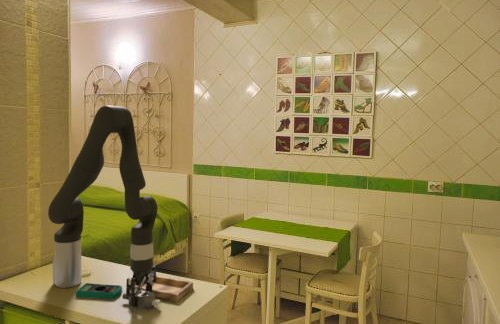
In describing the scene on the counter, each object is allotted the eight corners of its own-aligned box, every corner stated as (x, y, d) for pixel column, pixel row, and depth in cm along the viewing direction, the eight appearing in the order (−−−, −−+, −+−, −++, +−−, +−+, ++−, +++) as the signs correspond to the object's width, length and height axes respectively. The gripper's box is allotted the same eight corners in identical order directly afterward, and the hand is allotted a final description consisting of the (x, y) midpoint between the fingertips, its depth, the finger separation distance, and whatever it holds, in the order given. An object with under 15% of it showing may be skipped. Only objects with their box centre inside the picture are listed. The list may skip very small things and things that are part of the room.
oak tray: (129, 292, 145) (129, 285, 144) (147, 280, 156) (147, 274, 156) (177, 302, 138) (177, 294, 138) (193, 288, 150) (193, 282, 150)
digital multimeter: (115, 301, 139) (115, 293, 138) (74, 298, 140) (74, 290, 140) (123, 292, 146) (123, 284, 146) (85, 289, 147) (85, 281, 147)
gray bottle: (120, 304, 135) (120, 292, 135) (127, 299, 139) (127, 287, 139) (155, 312, 131) (155, 299, 130) (162, 306, 135) (162, 294, 135)
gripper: (144, 247, 141) (144, 291, 143) (119, 260, 128) (119, 308, 129) (162, 250, 139) (162, 294, 140) (139, 263, 125) (139, 312, 127)
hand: (141, 301), depth 135 cm, fingers open, 8 cm apart
